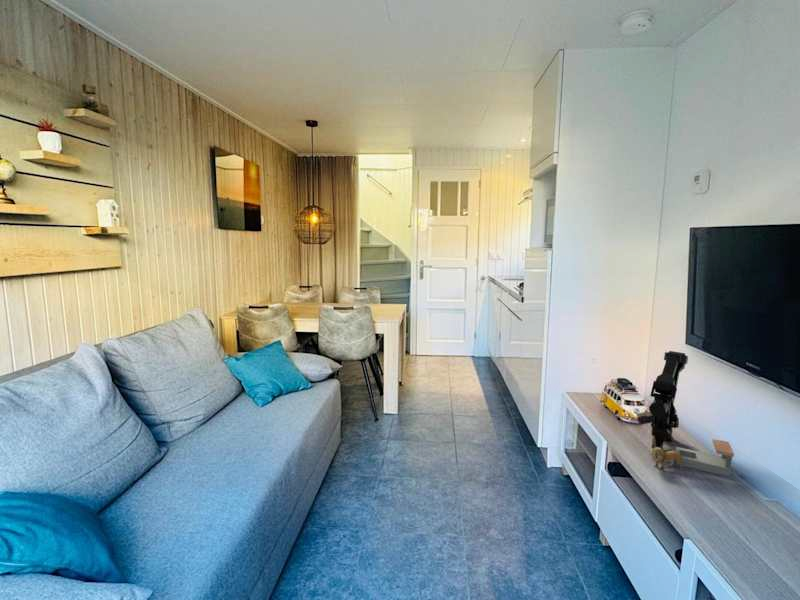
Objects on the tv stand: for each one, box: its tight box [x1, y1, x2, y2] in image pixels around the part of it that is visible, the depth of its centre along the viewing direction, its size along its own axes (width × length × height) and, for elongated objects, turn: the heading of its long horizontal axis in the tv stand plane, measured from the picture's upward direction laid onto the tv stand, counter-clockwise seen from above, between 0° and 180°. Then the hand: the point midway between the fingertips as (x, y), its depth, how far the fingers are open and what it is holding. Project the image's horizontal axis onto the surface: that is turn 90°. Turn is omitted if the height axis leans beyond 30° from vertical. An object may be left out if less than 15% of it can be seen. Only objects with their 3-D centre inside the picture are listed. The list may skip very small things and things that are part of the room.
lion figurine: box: [651, 447, 684, 472], centre depth 162 cm, size 15×5×9 cm, turn 107°
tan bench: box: [712, 438, 735, 469], centre depth 163 cm, size 11×5×9 cm, turn 151°
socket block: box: [674, 446, 732, 478], centre depth 166 cm, size 10×17×3 cm, turn 61°
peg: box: [651, 436, 665, 450], centre depth 178 cm, size 4×4×7 cm
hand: (657, 445), depth 178 cm, fingers closed on peg, 4 cm apart
